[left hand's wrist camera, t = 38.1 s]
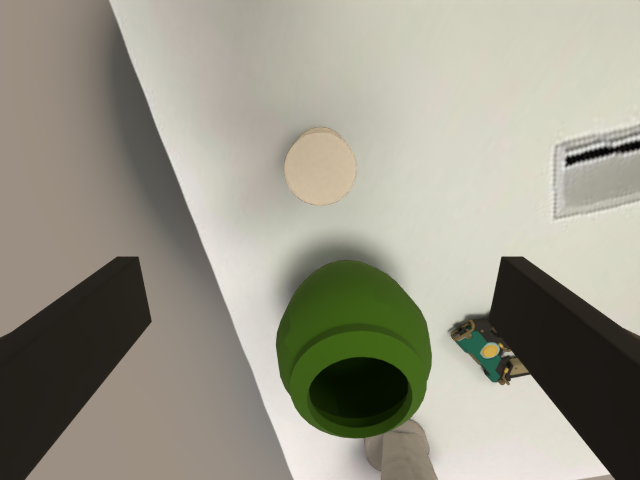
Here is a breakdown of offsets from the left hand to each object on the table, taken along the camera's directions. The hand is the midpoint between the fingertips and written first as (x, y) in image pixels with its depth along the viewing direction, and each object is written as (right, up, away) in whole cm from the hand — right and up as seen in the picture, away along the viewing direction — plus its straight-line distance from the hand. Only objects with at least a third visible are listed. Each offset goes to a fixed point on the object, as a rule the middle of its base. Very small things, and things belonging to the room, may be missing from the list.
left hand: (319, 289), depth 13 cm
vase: (+4, -6, +46) cm, 46 cm away
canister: (0, +14, +38) cm, 41 cm away
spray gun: (+33, -17, +50) cm, 62 cm away
